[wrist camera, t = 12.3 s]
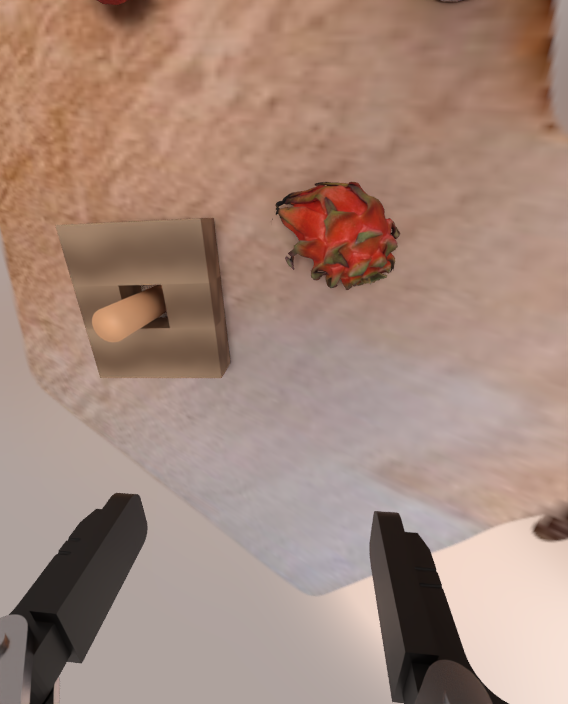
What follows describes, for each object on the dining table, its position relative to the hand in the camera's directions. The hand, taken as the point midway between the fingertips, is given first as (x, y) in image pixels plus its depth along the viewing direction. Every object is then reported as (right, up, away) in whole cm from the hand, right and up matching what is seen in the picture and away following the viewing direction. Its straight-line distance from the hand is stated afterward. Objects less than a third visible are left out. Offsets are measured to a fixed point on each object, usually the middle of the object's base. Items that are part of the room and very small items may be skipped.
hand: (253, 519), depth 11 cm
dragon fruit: (+6, +18, +21) cm, 28 cm away
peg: (-13, +12, +25) cm, 30 cm away
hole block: (-13, +12, +25) cm, 30 cm away
